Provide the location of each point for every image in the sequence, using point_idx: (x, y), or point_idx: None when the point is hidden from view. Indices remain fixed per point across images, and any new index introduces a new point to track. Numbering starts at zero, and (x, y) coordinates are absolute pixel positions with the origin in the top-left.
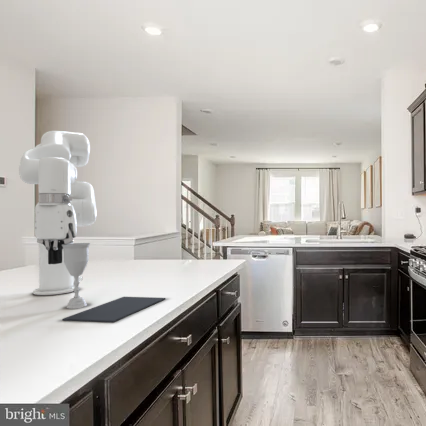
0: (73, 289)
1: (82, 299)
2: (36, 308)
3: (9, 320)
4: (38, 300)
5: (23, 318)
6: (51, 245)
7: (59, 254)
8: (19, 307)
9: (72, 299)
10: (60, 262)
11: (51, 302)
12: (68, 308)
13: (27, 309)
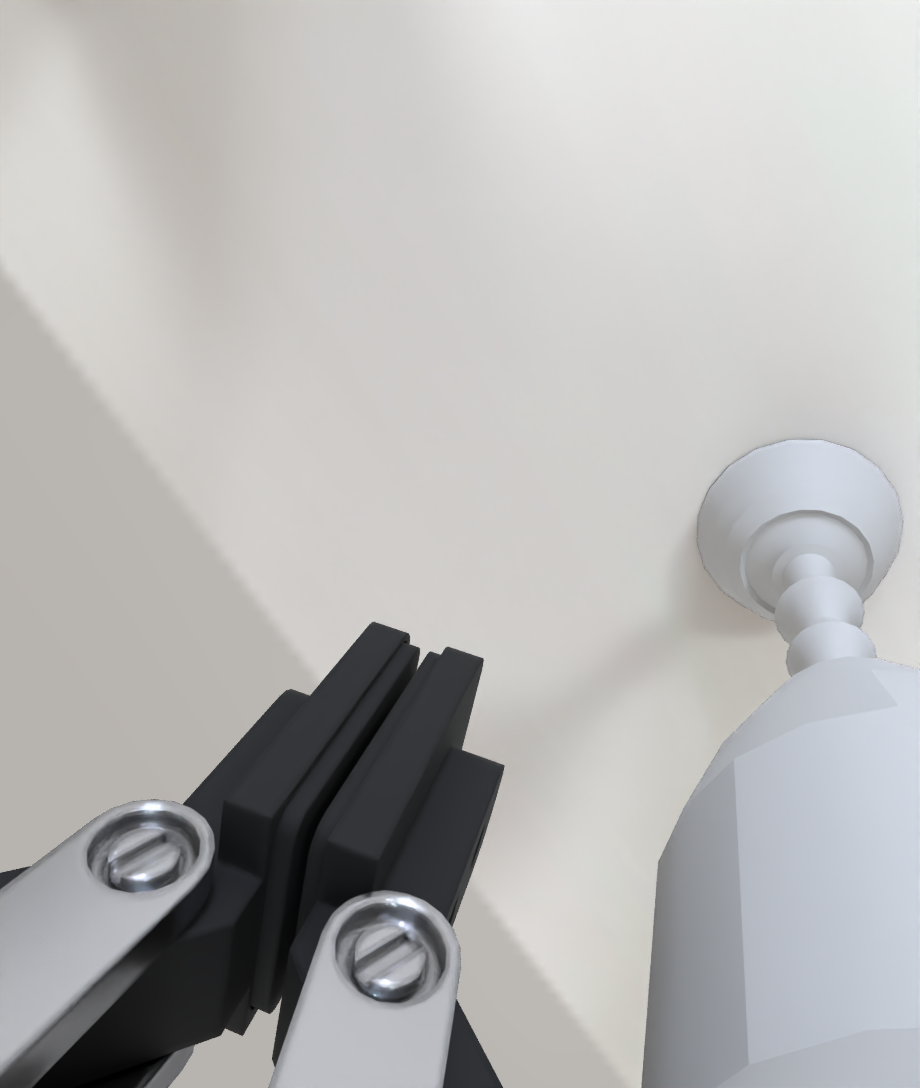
0: (786, 636)
1: (879, 578)
2: (431, 540)
3: None
4: (223, 188)
5: (529, 821)
6: (103, 1030)
7: (455, 909)
8: (259, 476)
9: (775, 606)
10: (472, 691)
11: (420, 305)
12: (746, 607)
13: (376, 561)
